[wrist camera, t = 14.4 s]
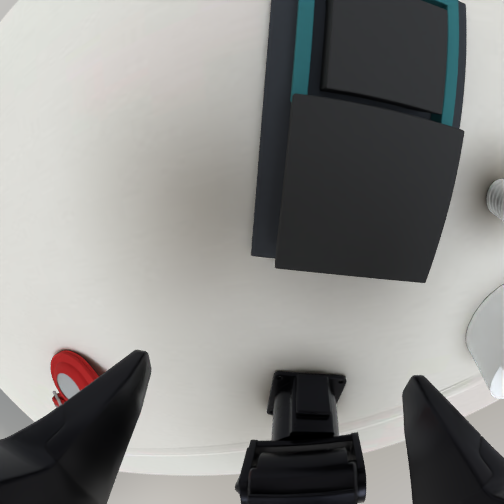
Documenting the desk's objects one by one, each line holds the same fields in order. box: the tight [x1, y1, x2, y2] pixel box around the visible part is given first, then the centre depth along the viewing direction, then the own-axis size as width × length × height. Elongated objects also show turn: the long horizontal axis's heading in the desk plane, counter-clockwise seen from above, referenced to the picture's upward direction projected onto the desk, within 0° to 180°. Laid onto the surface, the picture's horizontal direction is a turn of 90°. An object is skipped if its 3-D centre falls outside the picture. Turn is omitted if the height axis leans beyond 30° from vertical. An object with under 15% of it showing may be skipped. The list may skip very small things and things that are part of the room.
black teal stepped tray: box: [251, 0, 466, 283], centre depth 15 cm, size 19×12×4 cm, turn 176°
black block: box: [319, 0, 448, 114], centre depth 12 cm, size 6×6×3 cm
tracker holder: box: [51, 350, 99, 407], centre depth 30 cm, size 12×4×10 cm
